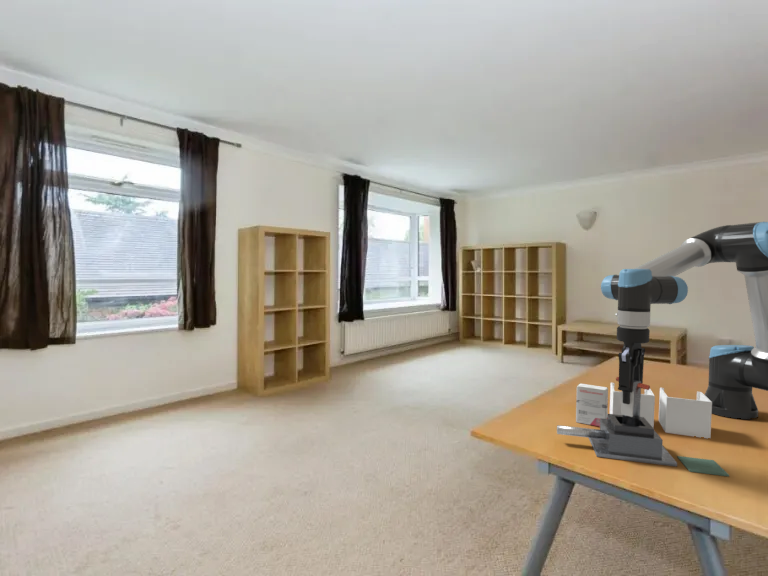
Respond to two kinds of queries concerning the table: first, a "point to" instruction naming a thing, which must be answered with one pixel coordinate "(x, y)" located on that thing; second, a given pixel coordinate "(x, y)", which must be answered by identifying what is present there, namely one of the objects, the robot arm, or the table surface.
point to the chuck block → (624, 441)
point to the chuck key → (635, 403)
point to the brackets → (672, 412)
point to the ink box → (591, 404)
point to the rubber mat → (702, 466)
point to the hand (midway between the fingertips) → (629, 413)
